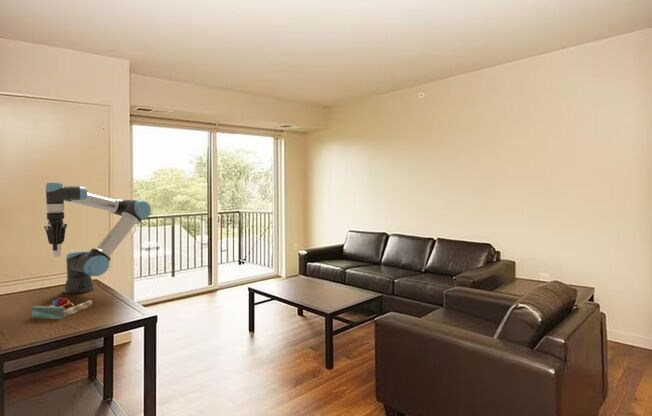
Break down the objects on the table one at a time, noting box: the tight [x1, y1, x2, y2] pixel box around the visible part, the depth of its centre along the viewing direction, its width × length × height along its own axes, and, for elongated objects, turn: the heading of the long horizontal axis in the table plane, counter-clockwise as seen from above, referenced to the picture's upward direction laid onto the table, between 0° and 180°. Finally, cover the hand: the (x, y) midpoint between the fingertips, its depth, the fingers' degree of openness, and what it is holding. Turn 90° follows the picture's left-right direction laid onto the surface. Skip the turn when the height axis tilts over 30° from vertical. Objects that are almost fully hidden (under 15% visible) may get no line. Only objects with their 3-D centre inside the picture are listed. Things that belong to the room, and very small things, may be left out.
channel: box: [31, 299, 93, 320], centre depth 189 cm, size 21×14×5 cm
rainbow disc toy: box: [50, 297, 75, 311], centre depth 187 cm, size 8×10×7 cm
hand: (57, 256), depth 203 cm, fingers closed
